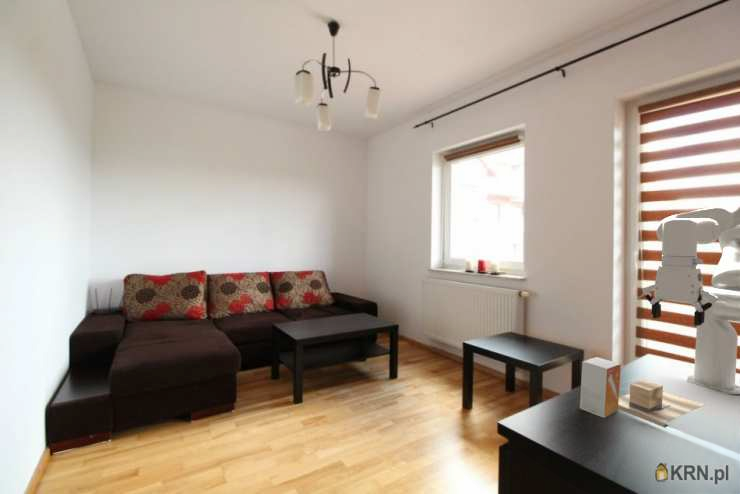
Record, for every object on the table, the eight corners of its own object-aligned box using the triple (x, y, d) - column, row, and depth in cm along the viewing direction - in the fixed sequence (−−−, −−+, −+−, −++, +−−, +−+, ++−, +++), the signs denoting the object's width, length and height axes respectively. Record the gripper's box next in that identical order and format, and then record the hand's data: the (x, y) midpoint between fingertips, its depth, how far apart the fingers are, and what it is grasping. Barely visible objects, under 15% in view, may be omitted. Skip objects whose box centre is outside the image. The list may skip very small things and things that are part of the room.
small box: (604, 419, 91) (607, 368, 91) (579, 408, 97) (581, 361, 96) (619, 411, 96) (621, 363, 95) (593, 401, 101) (595, 356, 101)
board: (649, 390, 110) (649, 386, 110) (704, 408, 99) (704, 404, 99) (608, 405, 99) (608, 400, 99) (664, 427, 88) (664, 422, 88)
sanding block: (642, 400, 100) (643, 379, 100) (661, 407, 96) (662, 385, 96) (629, 405, 96) (630, 384, 96) (648, 413, 92) (649, 390, 92)
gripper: (724, 263, 96) (722, 326, 97) (649, 259, 111) (648, 313, 112) (713, 265, 93) (710, 330, 93) (637, 260, 108) (635, 316, 109)
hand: (676, 321), depth 103 cm, fingers open, 9 cm apart
